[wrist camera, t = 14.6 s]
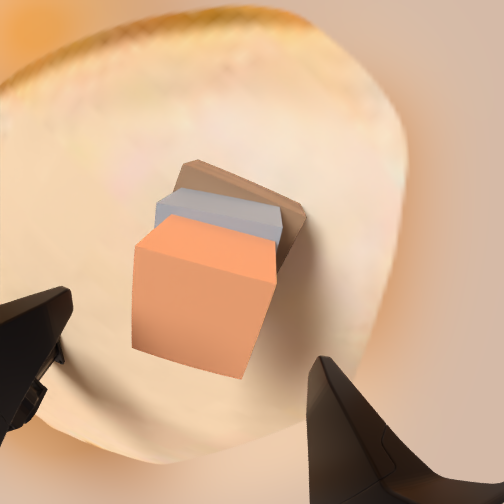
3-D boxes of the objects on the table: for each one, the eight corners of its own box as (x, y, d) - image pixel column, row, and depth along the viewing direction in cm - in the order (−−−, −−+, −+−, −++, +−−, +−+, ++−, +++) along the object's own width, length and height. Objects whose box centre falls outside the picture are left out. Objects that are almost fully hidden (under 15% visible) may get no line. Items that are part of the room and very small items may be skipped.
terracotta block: (248, 324, 15) (241, 379, 11) (160, 300, 15) (131, 347, 11) (275, 241, 13) (276, 284, 9) (171, 214, 13) (135, 245, 9)
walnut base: (255, 289, 23) (252, 317, 20) (166, 251, 22) (147, 273, 19) (299, 202, 20) (306, 217, 17) (199, 159, 19) (182, 163, 16)
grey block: (258, 293, 19) (256, 330, 15) (172, 274, 19) (151, 306, 15) (279, 206, 16) (282, 227, 13) (181, 187, 16) (156, 202, 13)
